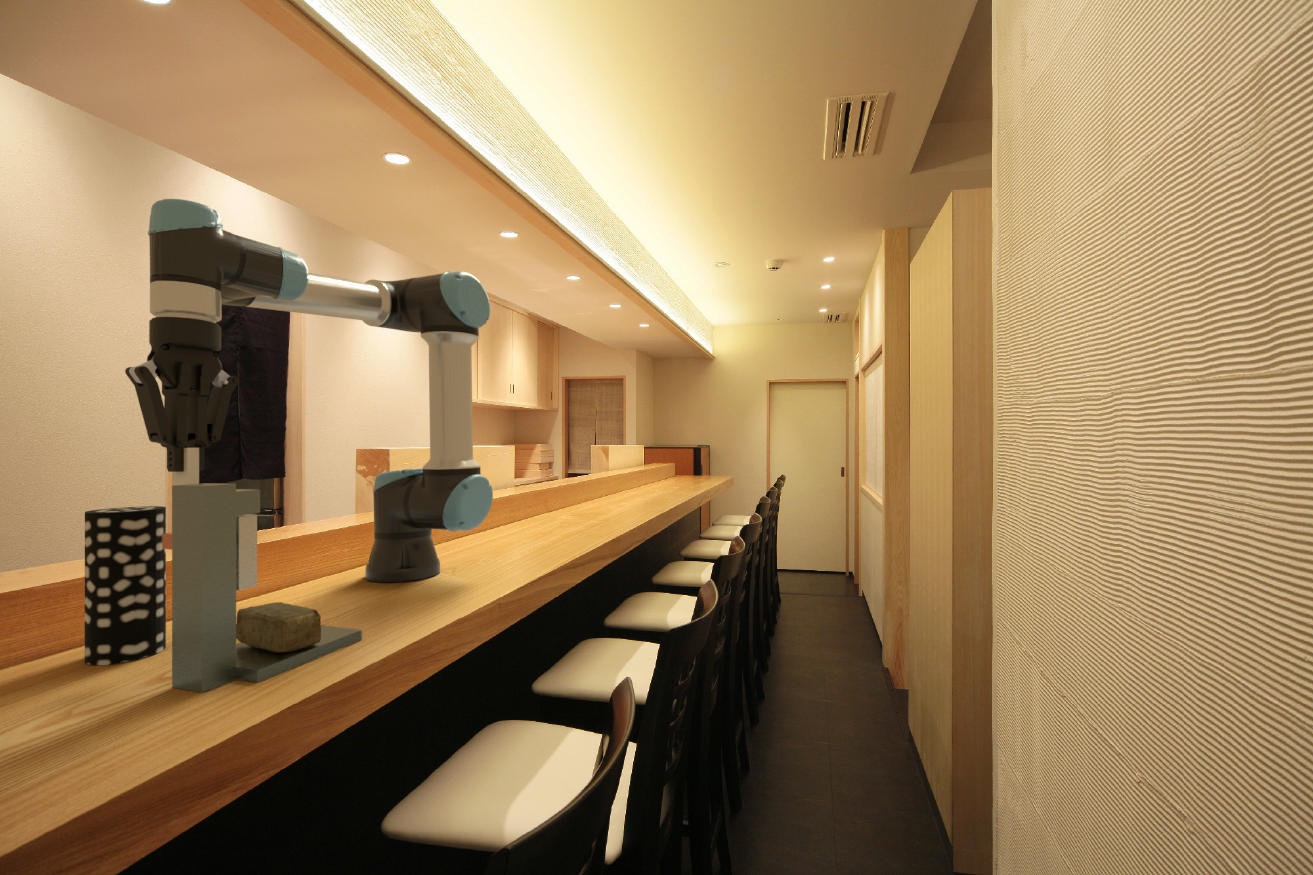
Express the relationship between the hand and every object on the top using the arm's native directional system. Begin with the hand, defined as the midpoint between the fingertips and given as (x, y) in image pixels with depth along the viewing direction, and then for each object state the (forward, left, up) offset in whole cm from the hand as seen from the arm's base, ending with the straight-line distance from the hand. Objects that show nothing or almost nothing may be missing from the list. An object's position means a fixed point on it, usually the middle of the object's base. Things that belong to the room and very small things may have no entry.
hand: (185, 496), depth 78 cm
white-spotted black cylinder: (0, -11, -22) cm, 25 cm away
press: (-4, +10, -22) cm, 24 cm away
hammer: (0, +5, -12) cm, 12 cm away
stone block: (-5, +10, -21) cm, 24 cm away
